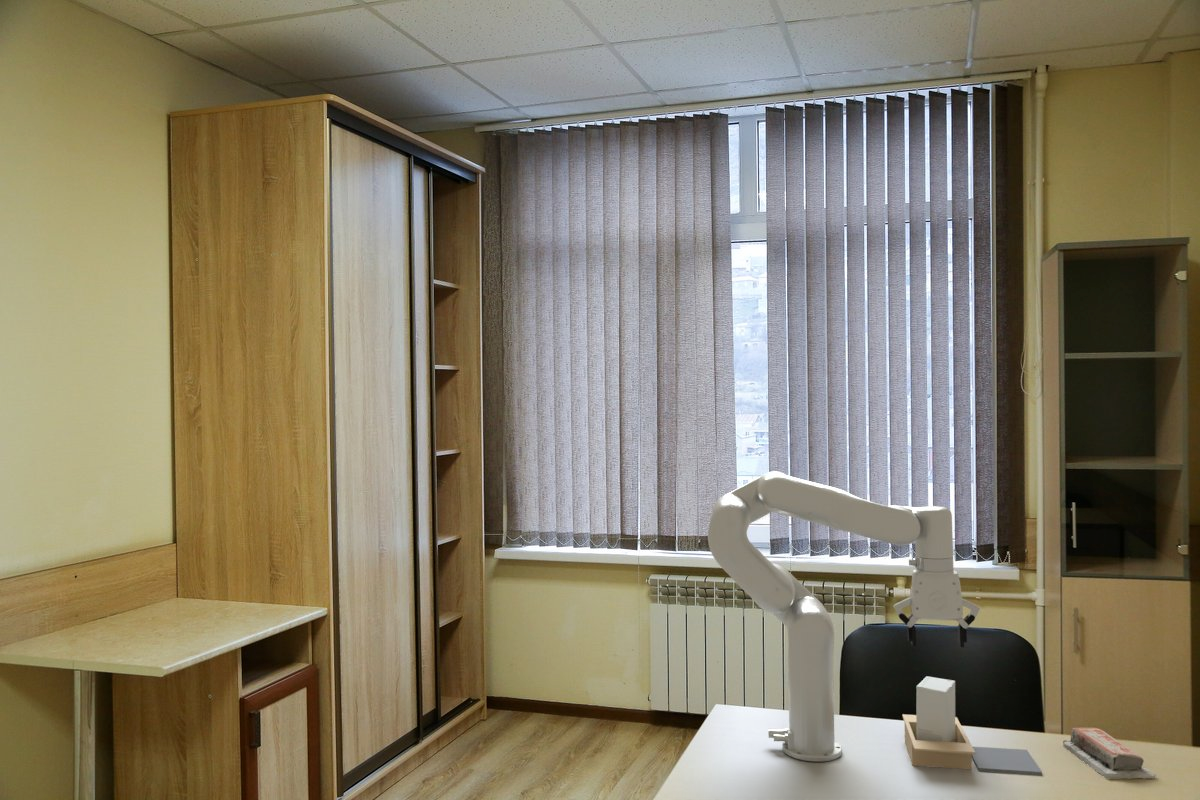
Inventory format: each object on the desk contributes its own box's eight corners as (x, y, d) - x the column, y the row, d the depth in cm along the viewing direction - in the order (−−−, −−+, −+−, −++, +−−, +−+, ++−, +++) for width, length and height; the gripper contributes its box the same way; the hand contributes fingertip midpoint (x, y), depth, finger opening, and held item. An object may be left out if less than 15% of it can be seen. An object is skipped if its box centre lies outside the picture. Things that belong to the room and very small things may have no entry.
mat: (978, 770, 185) (978, 767, 185) (967, 748, 197) (967, 746, 197) (1042, 775, 183) (1042, 772, 183) (1026, 752, 195) (1026, 749, 195)
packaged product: (1060, 725, 199) (1106, 724, 199) (1061, 747, 199) (1107, 747, 198) (1105, 757, 181) (1156, 756, 181) (1106, 781, 181) (1156, 781, 180)
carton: (914, 773, 185) (914, 748, 185) (902, 736, 205) (902, 714, 205) (975, 777, 182) (975, 752, 182) (957, 739, 203) (956, 717, 203)
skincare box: (926, 746, 199) (925, 675, 199) (958, 752, 195) (957, 680, 195) (915, 758, 192) (914, 685, 192) (947, 765, 188) (946, 690, 188)
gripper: (894, 567, 192) (896, 648, 192) (981, 568, 188) (983, 651, 188) (890, 561, 199) (892, 639, 199) (974, 562, 196) (976, 641, 196)
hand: (937, 645), depth 194 cm, fingers open, 9 cm apart
